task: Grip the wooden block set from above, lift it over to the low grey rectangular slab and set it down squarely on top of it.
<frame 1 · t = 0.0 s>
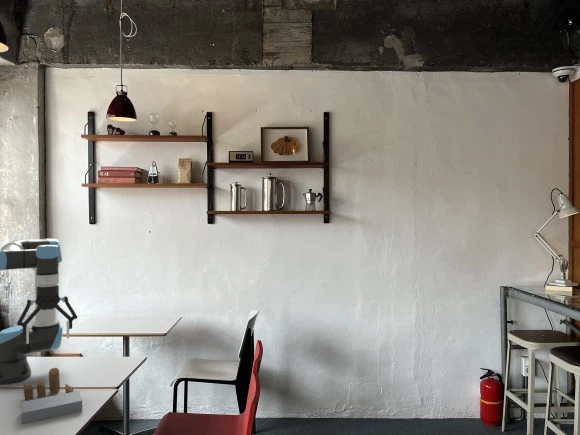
hand: (48, 340, 168), 28 cm above the table, tool pointing down, fingers open, 13 cm apart
wooden block set: (49, 395, 185), on the table
grey rectangular slab: (52, 411, 169), on the table
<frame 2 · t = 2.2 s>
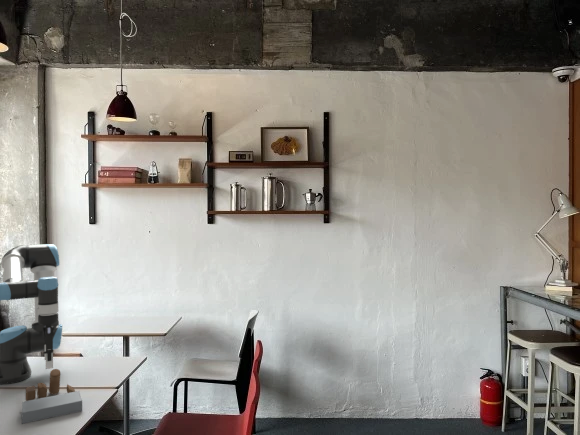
hand: (48, 363, 185), 13 cm above the table, tool pointing down, fingers open, 13 cm apart
wooden block set: (50, 397, 183), on the table
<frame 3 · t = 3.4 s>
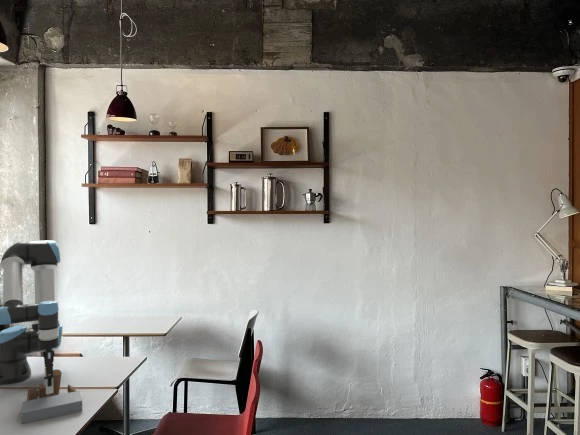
hand: (49, 387, 185), 3 cm above the table, tool pointing down, fingers open, 13 cm apart
wooden block set: (51, 397, 183), on the table, touching gripper
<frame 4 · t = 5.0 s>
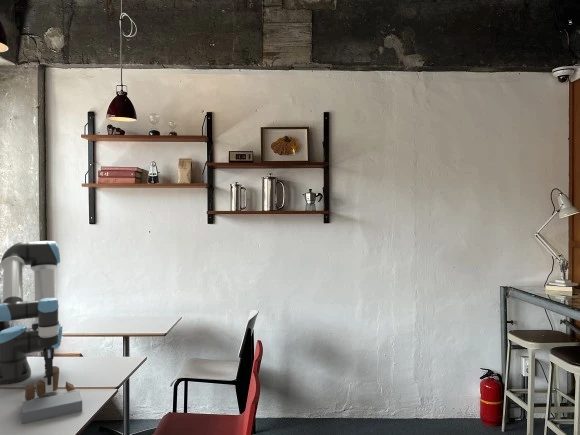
hand: (48, 388, 185), 2 cm above the table, tool pointing down, fingers closed on wooden block set, 8 cm apart
wooden block set: (49, 394, 184), on the table, touching gripper
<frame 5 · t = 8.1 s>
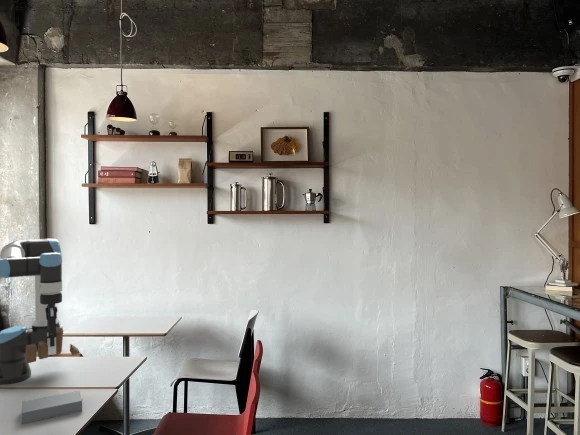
hand: (51, 351, 169), 23 cm above the table, tool pointing down, fingers closed on wooden block set, 8 cm apart
wooden block set: (52, 357, 168), point 21 cm above the table, touching gripper
when the fingers open (7 cm above the table, at t = 11.1 s): wooden block set stays where it is, resting on grey rectangular slab.
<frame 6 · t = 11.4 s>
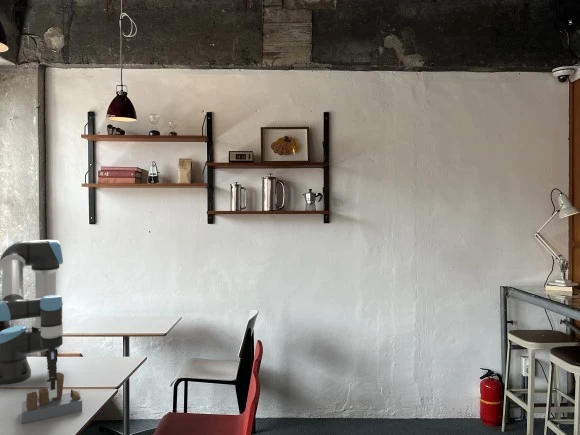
hand: (52, 392, 169), 8 cm above the table, tool pointing down, fingers open, 11 cm apart
wooden block set: (52, 403, 168), point 4 cm above the table, touching grey rectangular slab
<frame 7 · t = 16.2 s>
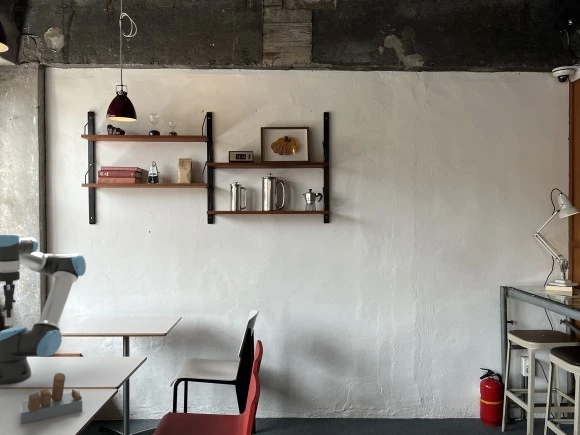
hand: (9, 321, 182), 32 cm above the table, tool pointing down, fingers open, 13 cm apart
wooden block set: (53, 404, 167), point 4 cm above the table, touching grey rectangular slab
at the end: wooden block set inside the target area on the grey rectangular slab (2.7 cm from its centre), point 3.8 cm above the grey rectangular slab's base; wooden block set tilted 0°; the gripper is holding nothing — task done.
